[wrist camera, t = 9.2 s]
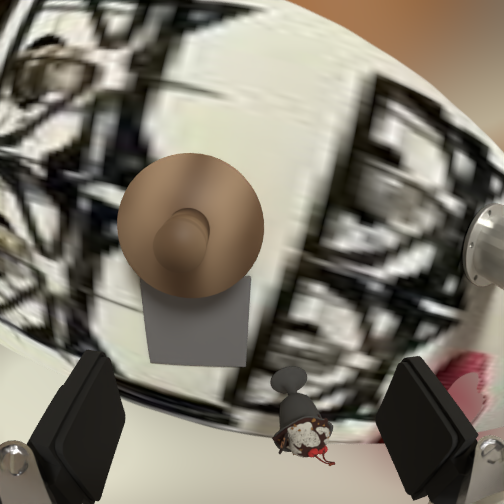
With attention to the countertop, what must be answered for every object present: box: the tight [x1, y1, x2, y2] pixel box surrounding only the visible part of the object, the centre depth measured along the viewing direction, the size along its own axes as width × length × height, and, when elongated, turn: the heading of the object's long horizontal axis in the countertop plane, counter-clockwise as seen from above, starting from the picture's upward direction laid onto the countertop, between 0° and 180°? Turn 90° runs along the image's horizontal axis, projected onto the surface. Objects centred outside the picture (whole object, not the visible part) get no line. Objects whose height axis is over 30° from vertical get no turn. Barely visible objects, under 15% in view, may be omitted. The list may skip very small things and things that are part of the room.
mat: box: [140, 276, 251, 367], centre depth 34 cm, size 12×12×1 cm
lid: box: [117, 153, 264, 298], centre depth 23 cm, size 12×12×6 cm
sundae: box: [271, 367, 335, 466], centre depth 31 cm, size 7×7×15 cm
